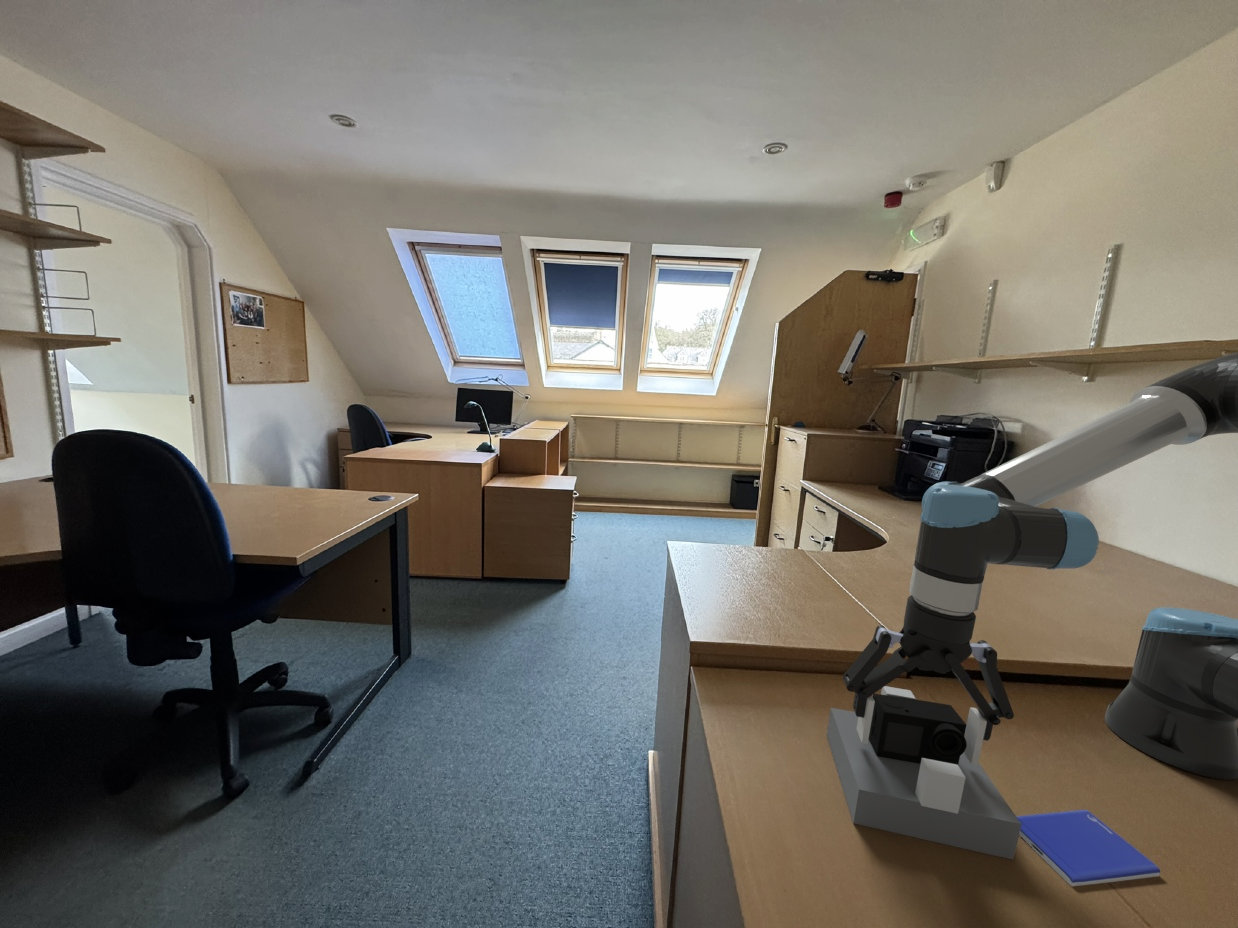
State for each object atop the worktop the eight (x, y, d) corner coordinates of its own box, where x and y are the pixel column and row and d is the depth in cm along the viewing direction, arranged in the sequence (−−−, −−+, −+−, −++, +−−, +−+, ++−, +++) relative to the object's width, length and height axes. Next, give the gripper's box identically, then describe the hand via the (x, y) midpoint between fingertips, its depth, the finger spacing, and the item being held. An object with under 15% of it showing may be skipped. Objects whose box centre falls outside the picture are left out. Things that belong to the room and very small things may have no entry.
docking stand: (949, 757, 73) (961, 699, 72) (1015, 863, 57) (1032, 790, 55) (825, 733, 77) (834, 677, 75) (854, 826, 60) (866, 757, 59)
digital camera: (879, 763, 64) (887, 717, 63) (865, 734, 70) (872, 692, 69) (962, 777, 63) (972, 730, 62) (942, 747, 68) (950, 703, 67)
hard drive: (1085, 807, 64) (1006, 815, 62) (1161, 868, 56) (1073, 879, 54) (1082, 817, 64) (1004, 825, 63) (1158, 879, 56) (1070, 890, 55)
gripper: (1032, 605, 63) (1001, 745, 67) (833, 578, 68) (814, 710, 72) (1072, 632, 56) (1035, 789, 60) (847, 600, 61) (824, 746, 64)
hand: (914, 746), depth 66 cm, fingers open, 13 cm apart
